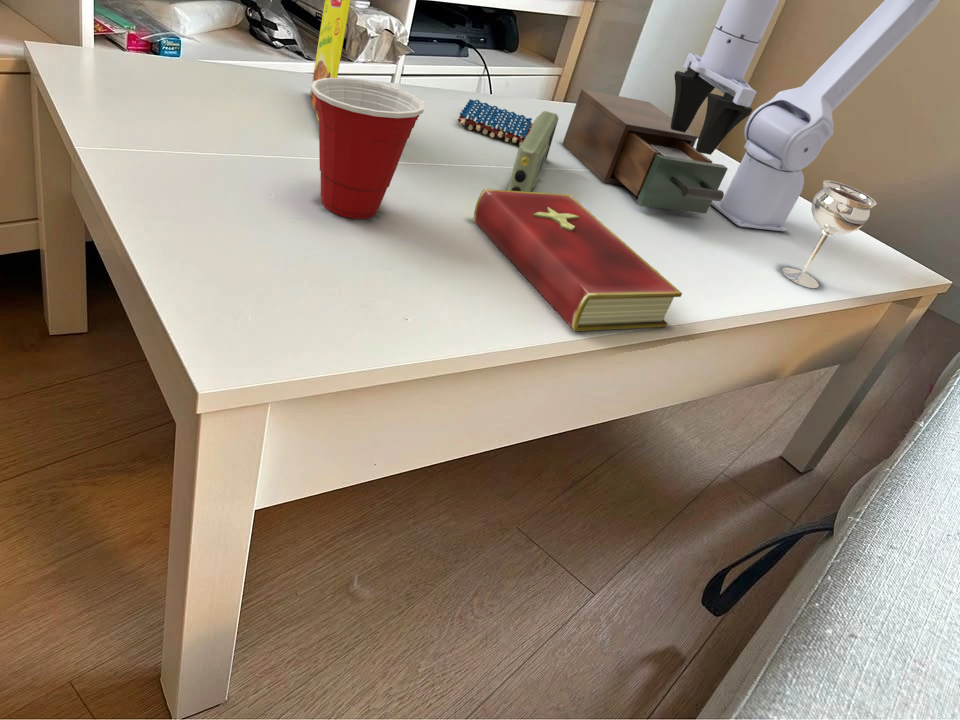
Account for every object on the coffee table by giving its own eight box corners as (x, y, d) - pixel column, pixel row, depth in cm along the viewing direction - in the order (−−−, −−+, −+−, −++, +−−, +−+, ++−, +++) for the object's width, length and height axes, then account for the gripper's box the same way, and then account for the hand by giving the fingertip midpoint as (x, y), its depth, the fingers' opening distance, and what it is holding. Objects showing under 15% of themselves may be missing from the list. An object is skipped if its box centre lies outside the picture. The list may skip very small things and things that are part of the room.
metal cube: (664, 181, 109) (678, 148, 106) (679, 194, 106) (694, 160, 104) (636, 178, 107) (650, 144, 104) (651, 190, 104) (665, 156, 101)
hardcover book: (571, 331, 70) (587, 292, 68) (471, 221, 84) (481, 186, 82) (665, 326, 76) (683, 290, 74) (558, 224, 90) (570, 192, 88)
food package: (306, 94, 103) (331, -69, 92) (314, 96, 103) (340, -66, 92) (321, 139, 91) (352, -41, 81) (330, 140, 92) (362, -39, 81)
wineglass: (766, 268, 98) (814, 182, 91) (787, 261, 102) (834, 178, 96) (813, 296, 95) (866, 208, 88) (833, 286, 99) (884, 203, 93)
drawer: (724, 228, 103) (747, 182, 99) (657, 221, 98) (679, 172, 94) (659, 175, 115) (678, 131, 111) (597, 166, 110) (614, 120, 106)
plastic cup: (340, 174, 84) (360, 65, 78) (418, 216, 81) (446, 106, 75) (270, 193, 76) (287, 73, 69) (355, 241, 73) (380, 119, 66)
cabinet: (673, 192, 113) (698, 136, 109) (603, 182, 108) (626, 124, 103) (628, 154, 123) (649, 101, 118) (562, 143, 117) (581, 88, 113)
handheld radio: (548, 161, 109) (519, 222, 87) (526, 154, 109) (492, 213, 88) (562, 115, 105) (535, 167, 84) (539, 108, 105) (506, 158, 84)
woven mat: (525, 150, 110) (529, 136, 109) (455, 126, 110) (458, 112, 108) (532, 130, 119) (536, 117, 117) (467, 108, 118) (470, 95, 117)
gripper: (683, 11, 97) (642, 115, 104) (739, 44, 86) (688, 157, 93) (729, 25, 99) (685, 125, 107) (789, 58, 88) (736, 167, 96)
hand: (690, 141), depth 100 cm, fingers open, 7 cm apart
